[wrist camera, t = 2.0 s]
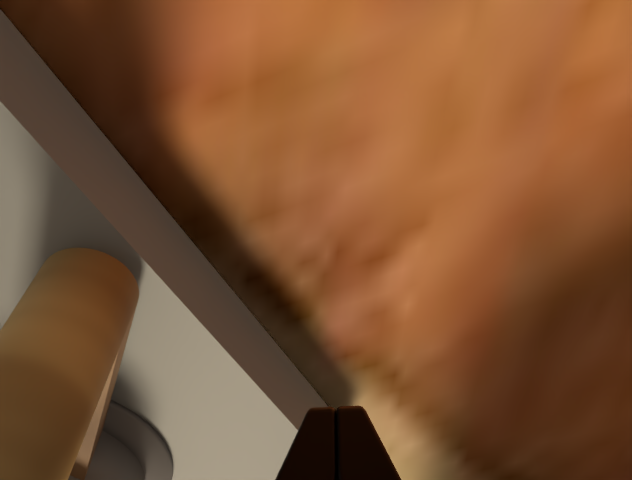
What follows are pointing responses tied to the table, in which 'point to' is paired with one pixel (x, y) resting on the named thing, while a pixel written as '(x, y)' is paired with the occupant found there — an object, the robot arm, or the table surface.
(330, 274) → the table surface
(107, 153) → the stand base
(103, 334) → the cam lever
